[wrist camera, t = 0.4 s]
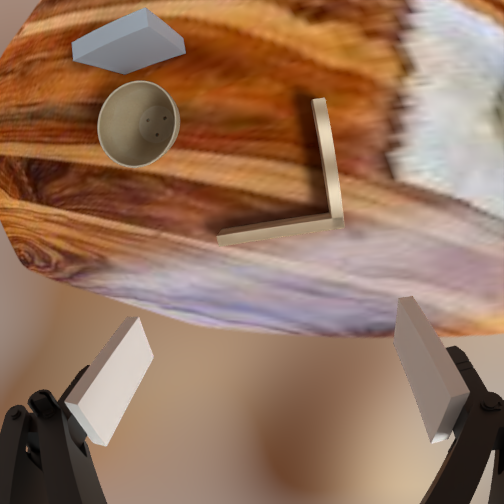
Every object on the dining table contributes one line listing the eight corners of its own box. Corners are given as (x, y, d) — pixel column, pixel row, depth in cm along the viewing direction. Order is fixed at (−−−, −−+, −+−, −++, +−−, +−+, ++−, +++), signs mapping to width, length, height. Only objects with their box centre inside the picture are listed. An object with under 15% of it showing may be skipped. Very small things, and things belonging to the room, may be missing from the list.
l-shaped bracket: (198, 123, 37) (191, 122, 34) (321, 100, 34) (324, 97, 31) (223, 239, 42) (218, 246, 39) (340, 221, 39) (344, 228, 37)
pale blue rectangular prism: (122, 59, 34) (71, 42, 23) (182, 38, 33) (145, 7, 21) (124, 74, 35) (73, 60, 24) (185, 53, 33) (148, 26, 22)
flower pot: (135, 170, 40) (108, 178, 33) (118, 103, 36) (90, 99, 30) (202, 150, 38) (185, 153, 31) (185, 77, 35) (165, 67, 28)
